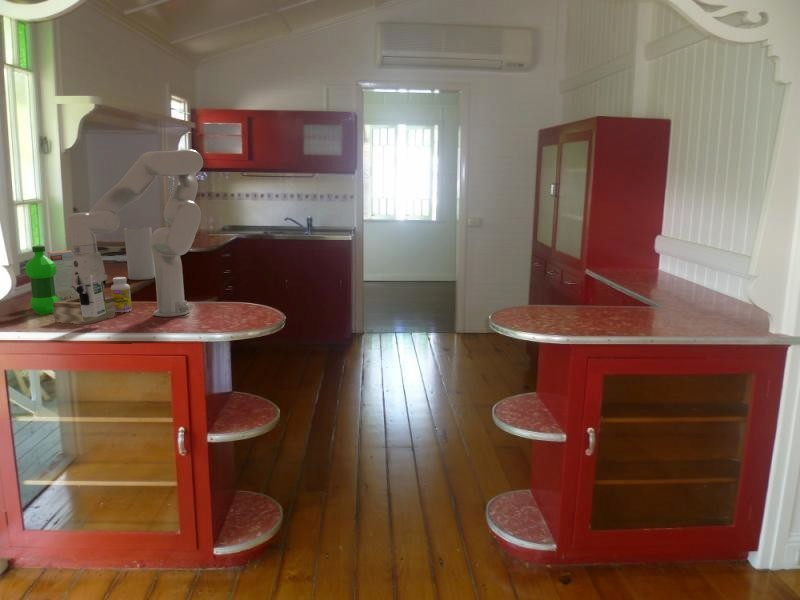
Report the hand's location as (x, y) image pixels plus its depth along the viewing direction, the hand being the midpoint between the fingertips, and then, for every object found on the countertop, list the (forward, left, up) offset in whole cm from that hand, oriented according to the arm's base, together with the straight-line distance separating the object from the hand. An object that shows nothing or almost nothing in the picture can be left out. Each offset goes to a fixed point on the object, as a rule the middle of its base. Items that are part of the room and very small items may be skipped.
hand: (92, 302), depth 233 cm
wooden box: (+12, -8, -8) cm, 17 cm away
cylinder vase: (+60, -94, -9) cm, 112 cm away
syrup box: (0, 0, -5) cm, 5 cm away
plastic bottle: (+36, -13, -9) cm, 39 cm away
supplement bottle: (+9, -23, -9) cm, 26 cm away
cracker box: (+44, -34, -9) cm, 56 cm away
